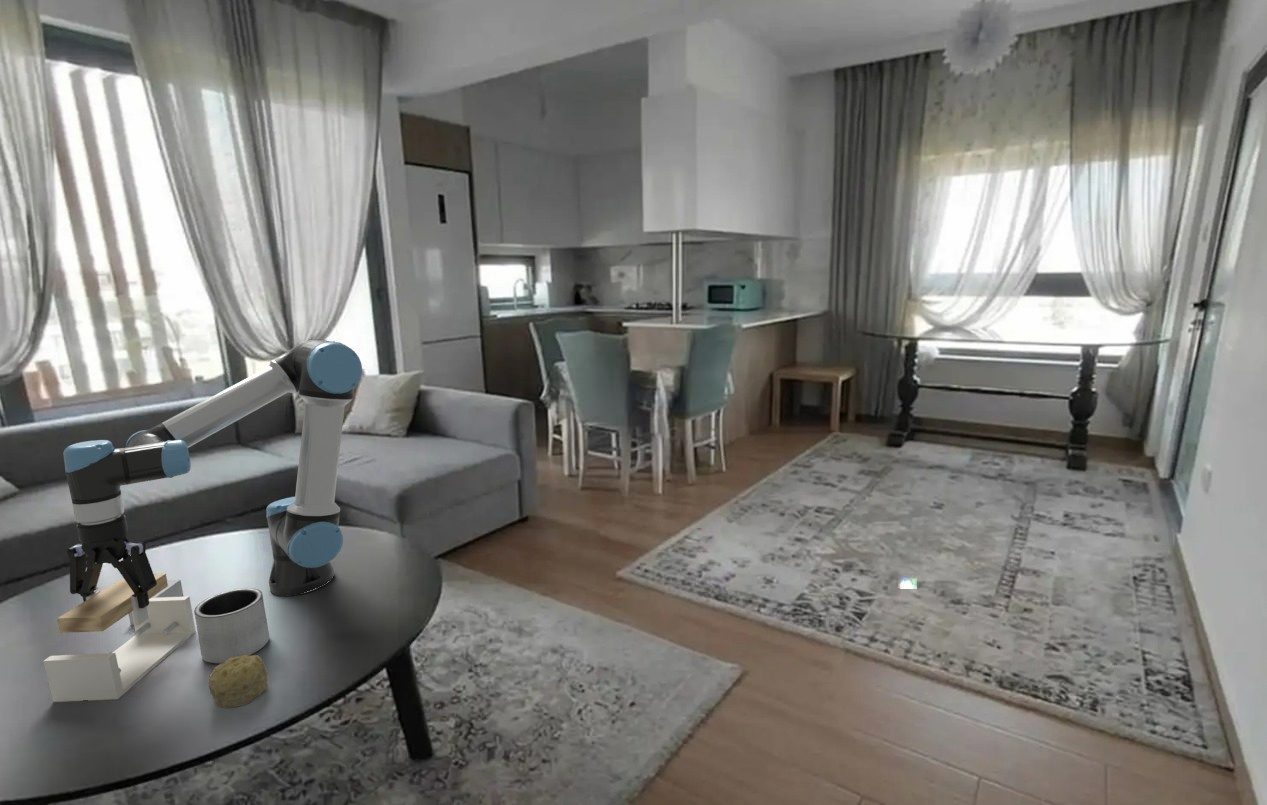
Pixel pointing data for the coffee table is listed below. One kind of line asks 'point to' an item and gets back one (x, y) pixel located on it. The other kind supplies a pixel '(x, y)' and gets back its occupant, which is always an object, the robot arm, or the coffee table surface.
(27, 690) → the coffee table surface
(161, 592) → the block
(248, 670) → the decorative item
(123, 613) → the board
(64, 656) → the shelf bay
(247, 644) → the planter
